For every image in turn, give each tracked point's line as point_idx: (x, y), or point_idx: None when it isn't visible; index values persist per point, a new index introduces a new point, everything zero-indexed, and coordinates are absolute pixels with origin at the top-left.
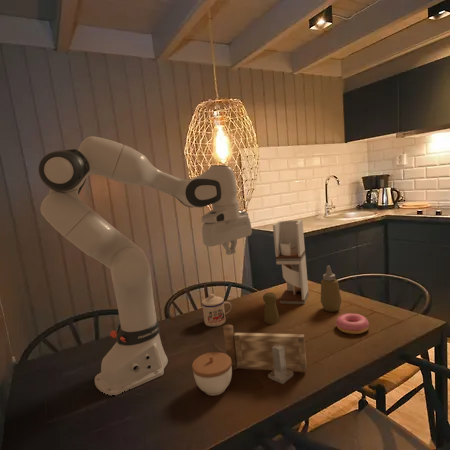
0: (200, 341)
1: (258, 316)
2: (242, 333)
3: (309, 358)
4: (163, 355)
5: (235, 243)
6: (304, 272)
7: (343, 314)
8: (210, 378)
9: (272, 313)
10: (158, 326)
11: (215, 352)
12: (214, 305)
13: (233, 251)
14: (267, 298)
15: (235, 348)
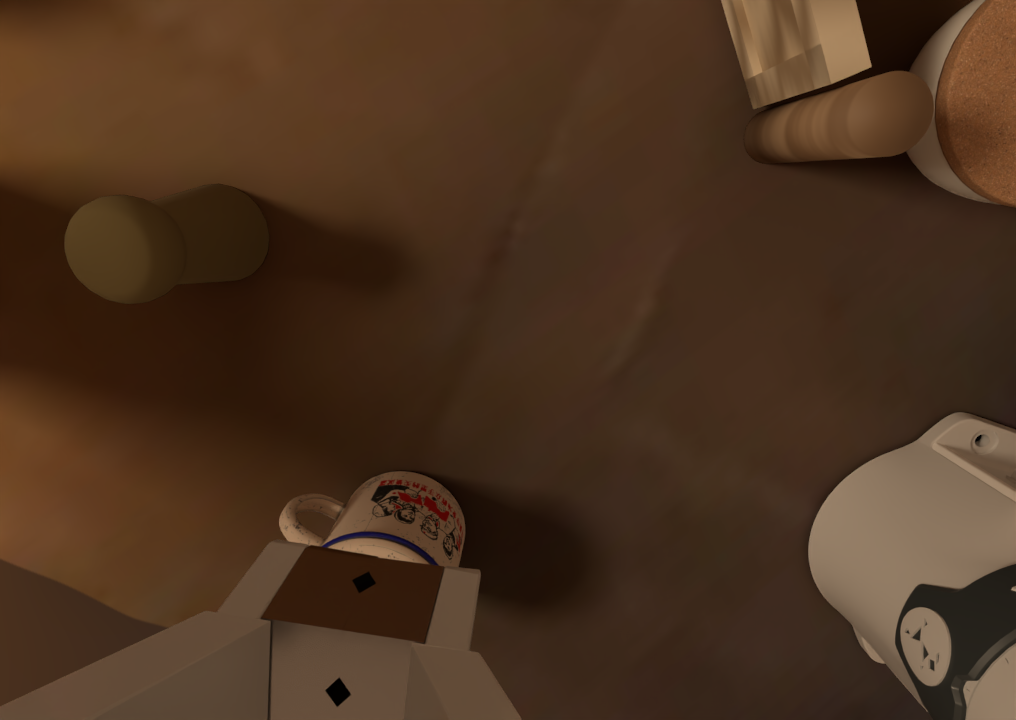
0: (620, 457)
1: (221, 340)
2: (826, 21)
3: None
4: (906, 487)
5: (101, 709)
6: None
7: None
8: None
9: (215, 208)
10: (1002, 603)
11: (965, 139)
12: (419, 556)
13: (330, 571)
14: (165, 241)
15: (803, 98)
